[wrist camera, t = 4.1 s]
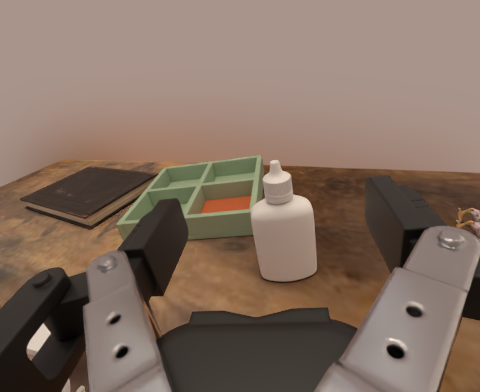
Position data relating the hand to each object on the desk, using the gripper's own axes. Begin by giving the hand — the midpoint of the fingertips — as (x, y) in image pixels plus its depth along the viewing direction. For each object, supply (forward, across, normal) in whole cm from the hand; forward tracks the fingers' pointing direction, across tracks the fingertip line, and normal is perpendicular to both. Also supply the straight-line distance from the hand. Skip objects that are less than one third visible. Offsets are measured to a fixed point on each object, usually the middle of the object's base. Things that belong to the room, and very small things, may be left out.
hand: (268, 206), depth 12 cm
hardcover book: (+34, +37, +14) cm, 53 cm away
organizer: (+27, +13, +14) cm, 33 cm away
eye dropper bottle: (+11, 0, +15) cm, 18 cm away
